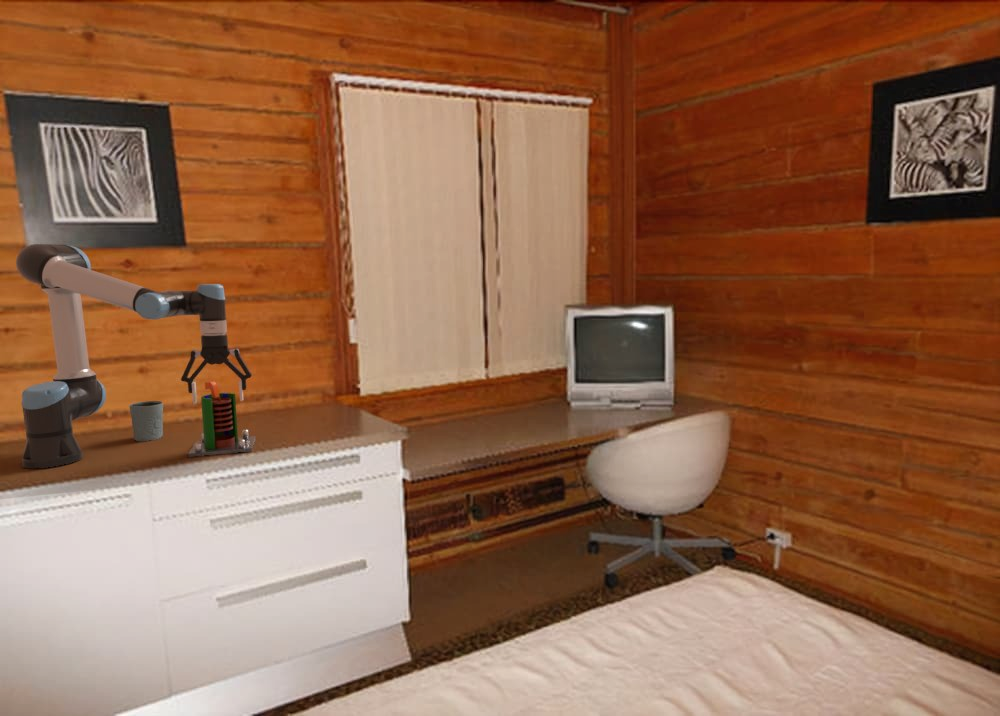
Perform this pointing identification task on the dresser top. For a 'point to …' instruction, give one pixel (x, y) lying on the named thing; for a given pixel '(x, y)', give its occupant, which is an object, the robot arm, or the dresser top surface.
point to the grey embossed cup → (147, 420)
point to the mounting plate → (241, 446)
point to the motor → (219, 418)
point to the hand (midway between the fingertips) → (218, 401)
